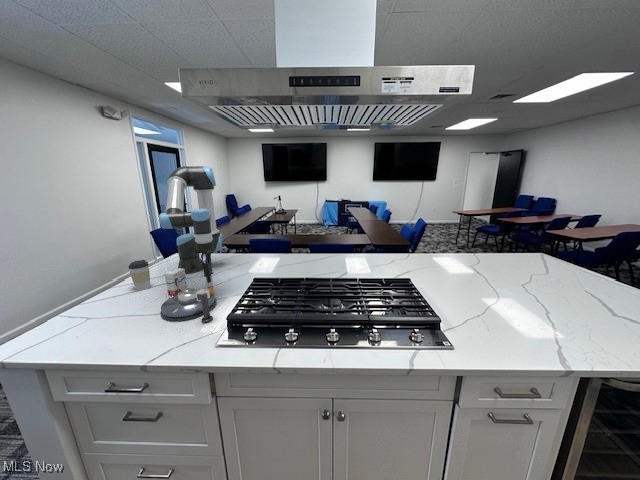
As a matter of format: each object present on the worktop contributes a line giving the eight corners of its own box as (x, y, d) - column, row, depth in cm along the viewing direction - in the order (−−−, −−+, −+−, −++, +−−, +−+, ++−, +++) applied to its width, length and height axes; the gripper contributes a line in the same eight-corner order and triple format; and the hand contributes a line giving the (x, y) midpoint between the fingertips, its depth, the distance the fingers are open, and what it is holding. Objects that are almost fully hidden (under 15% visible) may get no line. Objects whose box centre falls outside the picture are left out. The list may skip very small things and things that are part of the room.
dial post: (204, 315, 108) (200, 289, 105) (216, 316, 107) (212, 289, 104) (197, 322, 103) (192, 294, 100) (209, 323, 102) (205, 295, 99)
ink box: (176, 295, 127) (172, 274, 124) (167, 295, 128) (164, 273, 125) (188, 288, 135) (184, 268, 132) (180, 287, 136) (177, 267, 133)
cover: (186, 296, 119) (184, 285, 117) (202, 297, 118) (200, 286, 116) (174, 304, 111) (172, 293, 110) (191, 305, 110) (189, 294, 109)
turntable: (183, 293, 127) (181, 282, 125) (224, 295, 124) (222, 283, 122) (149, 316, 105) (146, 304, 104) (197, 319, 103) (195, 306, 101)
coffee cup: (138, 292, 131) (132, 265, 128) (129, 288, 136) (123, 262, 132) (156, 285, 139) (151, 260, 135) (147, 282, 143) (142, 258, 139)
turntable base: (183, 295, 127) (182, 293, 127) (225, 297, 125) (225, 295, 124) (147, 320, 105) (147, 318, 105) (198, 323, 102) (198, 321, 102)
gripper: (198, 239, 123) (204, 283, 129) (192, 245, 111) (199, 294, 117) (214, 237, 125) (219, 281, 131) (210, 244, 113) (216, 292, 119)
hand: (210, 287), depth 124 cm, fingers closed
